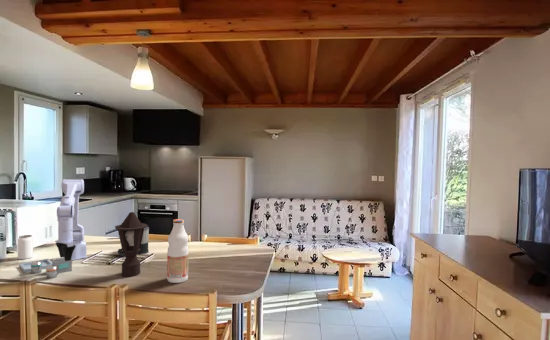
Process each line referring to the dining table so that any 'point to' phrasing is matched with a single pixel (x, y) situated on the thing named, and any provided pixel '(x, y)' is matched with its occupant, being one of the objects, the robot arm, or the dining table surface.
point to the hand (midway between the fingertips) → (65, 258)
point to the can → (25, 247)
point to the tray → (27, 266)
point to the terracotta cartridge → (51, 271)
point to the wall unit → (62, 265)
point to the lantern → (131, 243)
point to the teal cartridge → (36, 267)
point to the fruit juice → (177, 253)
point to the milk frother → (143, 244)
